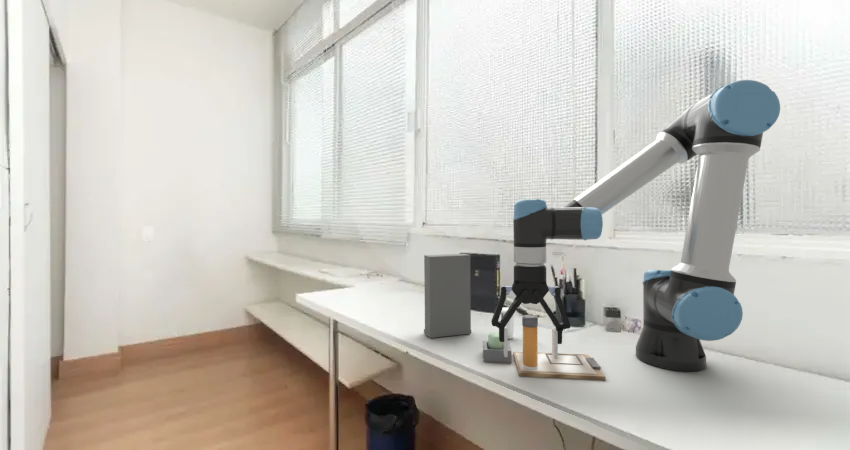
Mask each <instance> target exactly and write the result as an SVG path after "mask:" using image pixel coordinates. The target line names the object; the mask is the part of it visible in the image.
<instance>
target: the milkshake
mask: <svg viewBox="0 0 850 450" xmlns="http://www.w3.org/2000/svg"><path fill="white" fill-rule="evenodd" d="M509 307H510V306H508V307H503V308H502V311H501V314H500V317H499V318H500V320H501V319H502V318H503V316H504V315H505V313H506V312H507V310H508V309H509ZM515 317H516V312H515V313H514V314H513V316H512V317H511V319H510V320H509V322H508V323H507V325H506V326H505V327H507V330H508V340H512V339H514V332H515V320H516V319H515Z"/></svg>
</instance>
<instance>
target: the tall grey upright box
mask: <svg viewBox="0 0 850 450" xmlns="http://www.w3.org/2000/svg"><path fill="white" fill-rule="evenodd" d="M423 256H424V259H423V261H424V264H423V265H424V276H423V277H424V329H423V333H424V335H426V336H427V337H429V339H433V338H441V337H442V338H443V337H451V336H459V335H460V336H462V335H470V334H472V327H471V326H472V323H471V322H472V318H471V317H472V316H471V315H472V314H471V312H472V311H471V310H472V308H471V307H472V306H471V301H472V299H471V296H472V295H471V254H466V253H452V254H450V253H449V254H448V253H447V254H445V253H444V254H424V255H423Z"/></svg>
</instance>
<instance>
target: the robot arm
mask: <svg viewBox="0 0 850 450" xmlns="http://www.w3.org/2000/svg"><path fill="white" fill-rule="evenodd" d="M780 113H781V104H780V99H779V97H778V95H777V93H776V92H775V91H774V90H772V89H771V88H770V86H769V85H767V84H765V83H763V82H762V81H758V80H752V79H741V80H736V81H732V82H730V83H728V84H726V85H722V86H720V87H719V88H717V89H716V90H714V91H713V92H712V93H711V94H709V95H707V96H706V97H704V98H702V99H700V100H699V101H696V102H695V103H694V104H693V103H692V105H690V106H689V107H688V108H687V109H685V111H684V112H683V113H681V115H679V116H678V117H677V118H676V119H674V120H673V122H671V123H670V124H669V125H668V126H666V127H665V128H664V129H663V130H661V131H660V132H659V133H657V135H656V139H655V140H654V141H652V143H650V144H649V145H647V146H646V147H644V148H643V149H641V151H639V152H638V153H636V154H634V155H633V156H632V157H631V158H629V159H628V160H626V161H625V162H623V163H622V164H621V165H619V166H618V167H616V168H615V169H614V170H612V171H611V172H610V173H608V174H607V175H605V176H604V177H602V178H601V179H600V180H599V181H597V182H596V183H594V184H593V185H591V186H590V187H588V188H587V189H586V190H584V191H583V192H581V193H580V194H578V196H576V197H575V198H573V200H571V201H569V202H567V204H565V205H564V206H562V207H549V206H548V205H547V201H546V200H545V199H542V198H537V199H536V198H533V199H532V198H530V199H529V198H528V199H526V198H525V199H518V200H516V201H515V202H514V204H513V220H512V221H513V263H515V264H514V265H513V283H512V285H504V284H501V285H500V287H499V288H500V294H499V298H498V300H497V304H496V307H495V309H494V313H493V316H492V317H491V321H490V322H491V325H492V327H496V328H498V333H499V340H500V342H504V357H508V342H509V341H508V340H509V339H508V330H507V327H505V326H506V325H507V323H508V322H509V320H510V319H511V317H512V316H513V314H514V313H515V314H516V311H517V310H518V308H519V307H520V306H521V304H524V305H528V304H532V305H538V304H540V305H541V307H542V309H543V310H544V311H545V313H546V314H547V316H548V317H549V319H550V320H551V322H552V324H553V325H554V327H555V328H554V327H552V328H551V353H552V356H553V357H554V359H558V353H559V352H558V351H559V350H558V347H559V345H562V343H563V332H564V330H566V329H570V328H571V323H570V319H569V317H568V314H567V311H566V309H565V306H564V303H563V300H562V297H561V296H562V292H561V291H562V290H561V288H560V287H559V286H558V285H554V286H548V285H547V266H546V265H545V264H547V240H575V241H577V240H579V241H580V240H582V241H588V240H598V239H600V238H601V236H602V232H603V222H604V221H603V220H604V219H603V214H605V213H607V212H609V210H611V209H613V208H614V207H615V206H617V205H618V204H619V203H621V202H623V201H625V199H627V198H628V197H630V196H632V194H635V193H636V192H637V191H638V190H640V189H642V188H643V187H645V186H646V185H647V184H648V183H651V182H652V181H653V180H654V179H657V177H659V176H660V175H661V174H663V173H665V172H666V171H667V170H669V169H670V168H672V167H673V166H675V165H676V164H684V163H686V162H688V161H689V160H690V159H692V158H694V157H695V156H697V157H698V159H697V164H696V171H695V175H694V176H695V177H694V182H693V183H694V184H693V190H692V195H691V200H690V206H689V210H688V211H689V212H688V217H687V223H686V229H685V234H684V240H683V248H682V252H681V259H680V262H679V263H678V264H677V265H675V266H673V267H672V268H670V270H666V269H664V270H663V269H662V270H661V269H657V270H656V269H655V270H654V269H647V270H646V271H645V272H644V274H643V281H642V285H643V286H642V289H643V291H642V293H643V294H642V295H643V296H642V297H643V298H642V299H643V300H642V301H643V303H642V304H643V305H642V306H643V309H642V310H643V312H642V313H643V317H642V318H643V319H642V320H643V327H642V330H641V332H640V334H639V337H638V339H637V342H636V344H635V357H636V358H637V359H639V360H640V361H642V362H644V363H646V364H648V365H651V366H653V367H654V366H655V367H657V368H661V369H667V370H673V371H678V372H679V371H681V372H697V371H698V372H699V371H702V370H705V369H706V367H707V356H706V352H705V350H704V347H703V345H702V341H705V342H706V341H707V342H711V341H719V340H723V339H724V338H726V337H729V336H730V335H732V334H733V333H734V332H736V331H737V329H738V328H739V326H740V325H741V323H742V320H743V314H744V313H743V307H742V305H741V302H739V300H738V298H737V297H736V295H735V289H736V285H737V279H736V278H735V277H734V276H733V275H732V273H731V272H730V265H731V258H732V252H733V248H734V241H735V237H736V232H737V226H738V220H739V215H740V214H739V213H740V208H741V203H742V197H743V193H744V187H745V181H746V175H747V169H748V166H749V160H750V158H751V157H753V156H755V154H757V153H759V152H760V151H761V146H762V142H763V141H762V140H763V134H764V133H765V132H767V131H768V130H770V128H772V126H774V124H775V123H776V122H777V120H778V118H779V116H780ZM510 292H512V293H513V294H514V295H515V297H514V299H513V301H512V302H511V304H510V306H508V307H509V309H508V310H507V312H506V313H505V315H504V316H503V318H502V319H501V317H500V314H501V311H502V308H504V305H505V302H506V300H507V299H506V298H507V296H509V295H510ZM549 292H550V295H551V296H552V297H553V299H554V302H555V305H556V307H557V310H558V313H559V316H560V320H561V322H559V319H557V317H556V315H555V314H554V312H553V311H552V310H551V308H550V306H549V305H548V303H547V301H546V300H545V299H544V298H545V297H546V295H547V294H548V293H549ZM499 320H500V321H499Z"/></svg>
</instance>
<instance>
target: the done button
mask: <svg viewBox="0 0 850 450" xmlns="http://www.w3.org/2000/svg"><path fill="white" fill-rule="evenodd" d="M487 341H488V349H504V342H500V340H499V332H490V333H488V334H487Z"/></svg>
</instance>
